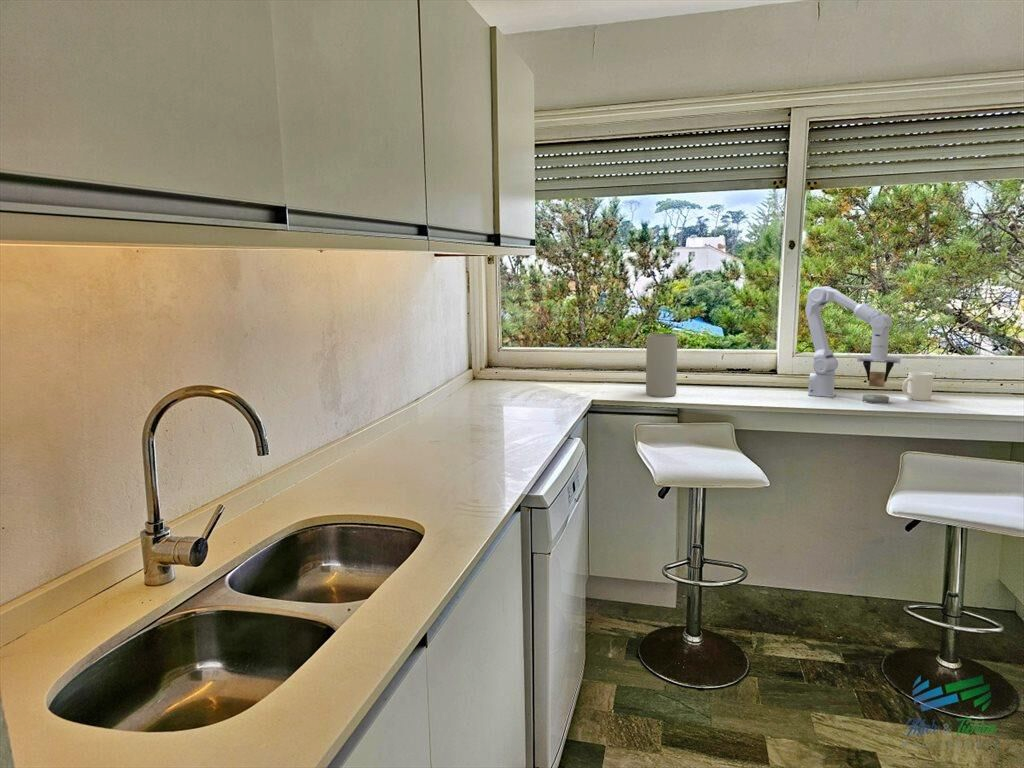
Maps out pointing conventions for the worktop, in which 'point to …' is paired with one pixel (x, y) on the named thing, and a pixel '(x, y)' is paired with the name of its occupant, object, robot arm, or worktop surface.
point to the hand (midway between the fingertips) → (877, 381)
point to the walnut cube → (877, 379)
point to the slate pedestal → (876, 398)
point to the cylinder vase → (661, 365)
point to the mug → (918, 385)
